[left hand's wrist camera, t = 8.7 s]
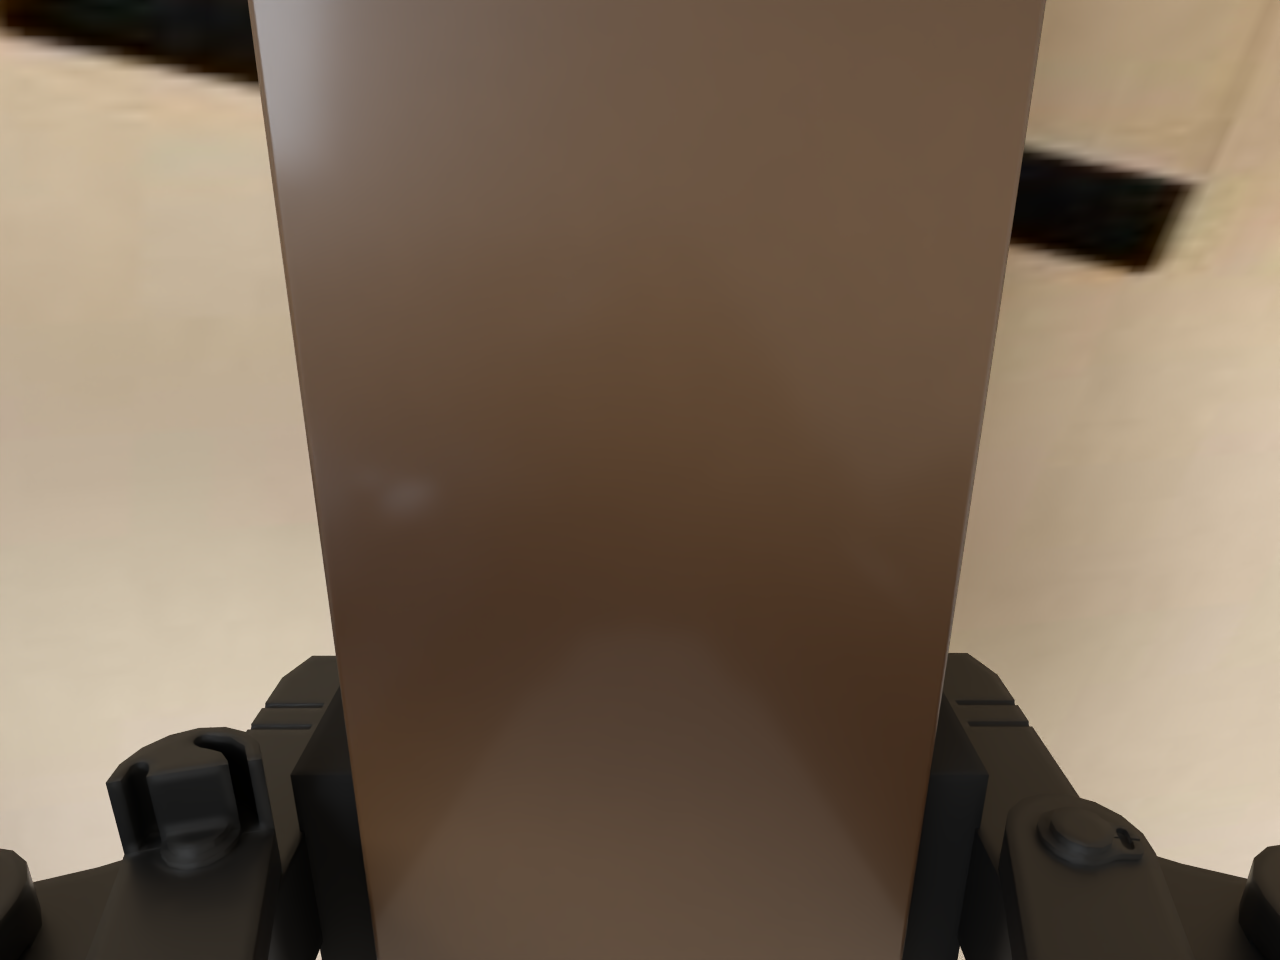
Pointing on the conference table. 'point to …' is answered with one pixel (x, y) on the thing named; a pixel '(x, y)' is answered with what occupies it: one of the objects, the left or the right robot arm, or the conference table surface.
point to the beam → (643, 446)
